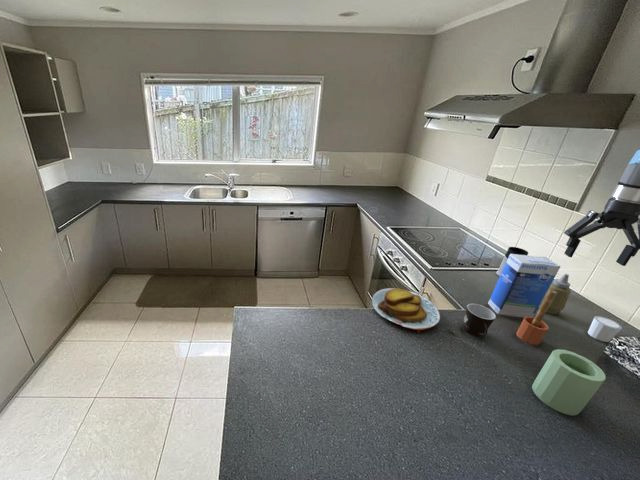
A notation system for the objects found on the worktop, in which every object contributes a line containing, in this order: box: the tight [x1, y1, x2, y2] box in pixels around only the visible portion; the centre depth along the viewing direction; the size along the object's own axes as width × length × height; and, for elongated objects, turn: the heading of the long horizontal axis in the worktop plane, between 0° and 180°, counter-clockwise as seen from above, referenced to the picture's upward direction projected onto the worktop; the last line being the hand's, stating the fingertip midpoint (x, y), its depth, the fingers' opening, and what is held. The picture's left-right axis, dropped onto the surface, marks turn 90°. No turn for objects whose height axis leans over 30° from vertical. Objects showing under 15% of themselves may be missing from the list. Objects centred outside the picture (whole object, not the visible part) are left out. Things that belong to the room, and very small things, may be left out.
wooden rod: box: [531, 290, 557, 327], centre depth 100 cm, size 4×4×21 cm
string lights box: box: [487, 254, 561, 319], centre depth 113 cm, size 13×8×26 cm, turn 80°
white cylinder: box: [587, 315, 623, 343], centre depth 106 cm, size 7×7×7 cm
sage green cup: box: [531, 348, 607, 416], centre depth 80 cm, size 10×10×14 cm
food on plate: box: [371, 287, 441, 334], centre depth 115 cm, size 25×25×7 cm
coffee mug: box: [461, 303, 497, 338], centre depth 104 cm, size 12×9×10 cm
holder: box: [495, 246, 529, 277], centre depth 139 cm, size 9×14×15 cm, turn 167°
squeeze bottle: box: [538, 273, 571, 315], centre depth 117 cm, size 8×8×18 cm
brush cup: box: [515, 316, 550, 346], centre depth 103 cm, size 7×7×8 cm
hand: (593, 259), depth 95 cm, fingers open, 13 cm apart
